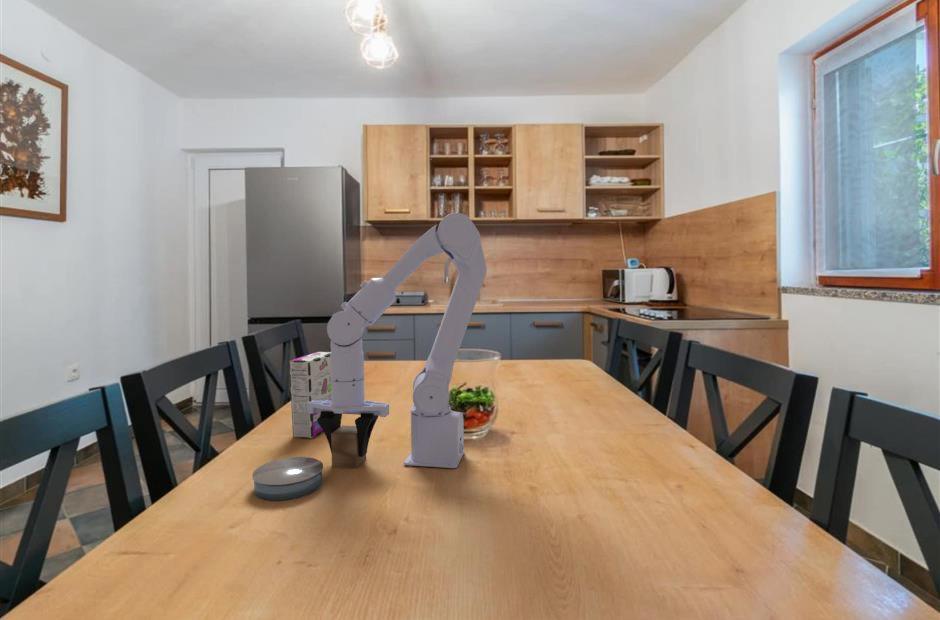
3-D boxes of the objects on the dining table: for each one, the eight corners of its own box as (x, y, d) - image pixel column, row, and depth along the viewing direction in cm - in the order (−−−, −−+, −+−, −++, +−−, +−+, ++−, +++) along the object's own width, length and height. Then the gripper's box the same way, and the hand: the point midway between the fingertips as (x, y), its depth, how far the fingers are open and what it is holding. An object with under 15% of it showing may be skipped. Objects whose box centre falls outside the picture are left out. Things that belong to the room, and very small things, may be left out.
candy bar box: (318, 421, 108) (316, 351, 107) (338, 423, 107) (336, 351, 106) (290, 438, 97) (288, 359, 96) (312, 439, 96) (310, 360, 95)
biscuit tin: (334, 476, 79) (334, 458, 78) (302, 505, 68) (302, 485, 68) (277, 472, 80) (276, 455, 80) (238, 500, 70) (237, 481, 70)
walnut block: (366, 458, 86) (365, 426, 85) (356, 468, 81) (355, 434, 81) (343, 457, 86) (342, 425, 86) (331, 466, 82) (331, 433, 81)
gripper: (297, 382, 80) (299, 459, 81) (378, 385, 78) (380, 465, 78) (317, 373, 87) (319, 445, 88) (392, 376, 84) (393, 449, 85)
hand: (349, 453), depth 84 cm, fingers closed on walnut block, 4 cm apart
